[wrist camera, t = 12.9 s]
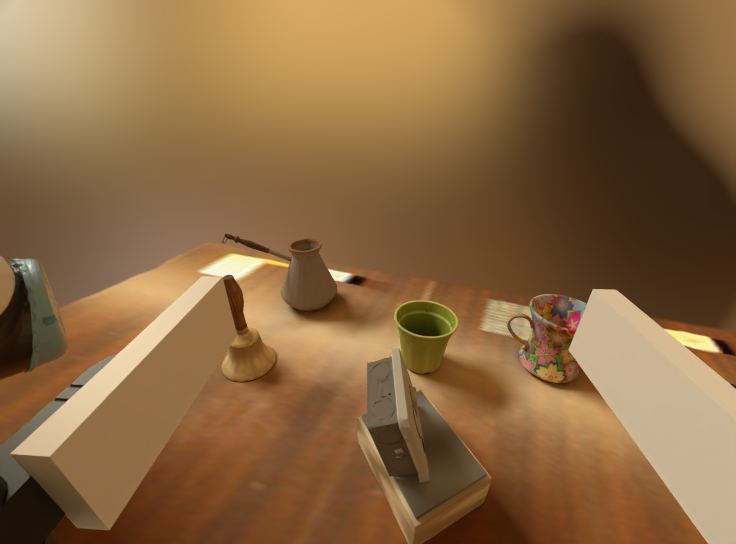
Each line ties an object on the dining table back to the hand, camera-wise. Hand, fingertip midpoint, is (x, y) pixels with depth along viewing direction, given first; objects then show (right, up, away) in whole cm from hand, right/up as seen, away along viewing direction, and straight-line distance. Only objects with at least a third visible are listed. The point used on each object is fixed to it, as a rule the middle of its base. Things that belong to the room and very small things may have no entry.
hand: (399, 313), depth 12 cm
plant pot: (+7, -13, +39) cm, 42 cm away
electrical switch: (+2, -17, +22) cm, 28 cm away
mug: (+26, -13, +39) cm, 48 cm away
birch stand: (+4, -21, +24) cm, 32 cm away
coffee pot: (-18, -5, +55) cm, 58 cm away
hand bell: (-20, -13, +39) cm, 46 cm away
